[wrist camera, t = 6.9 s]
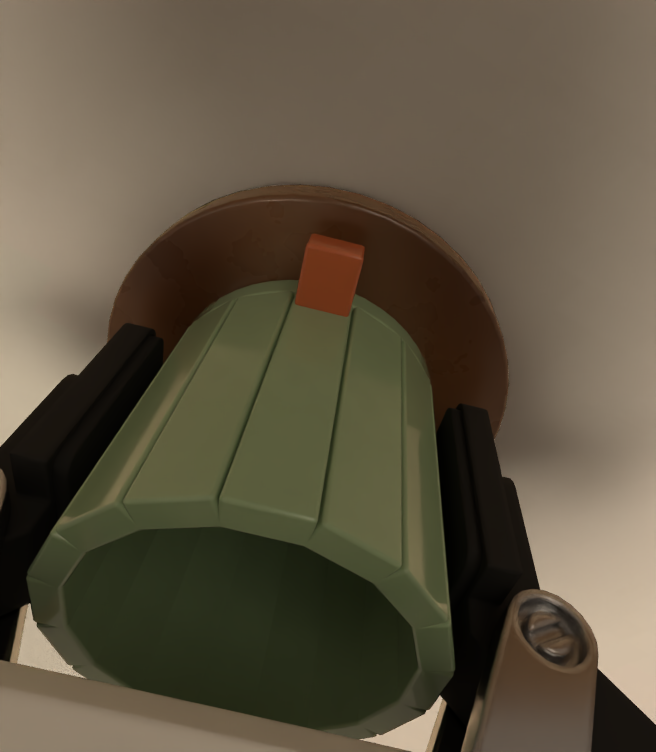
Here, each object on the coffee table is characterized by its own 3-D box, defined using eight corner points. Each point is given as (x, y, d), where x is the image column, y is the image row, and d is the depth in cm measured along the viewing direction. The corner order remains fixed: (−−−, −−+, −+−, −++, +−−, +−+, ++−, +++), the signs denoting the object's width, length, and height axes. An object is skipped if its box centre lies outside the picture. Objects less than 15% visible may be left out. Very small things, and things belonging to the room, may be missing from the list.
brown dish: (248, 75, 9) (236, 79, 9) (592, 363, 12) (604, 384, 11) (65, 391, 14) (48, 410, 13) (340, 552, 16) (337, 575, 16)
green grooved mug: (169, 459, 14) (46, 698, 9) (186, 187, 10) (-19, 356, 5) (390, 511, 14) (385, 774, 9) (495, 265, 10) (581, 499, 5)
